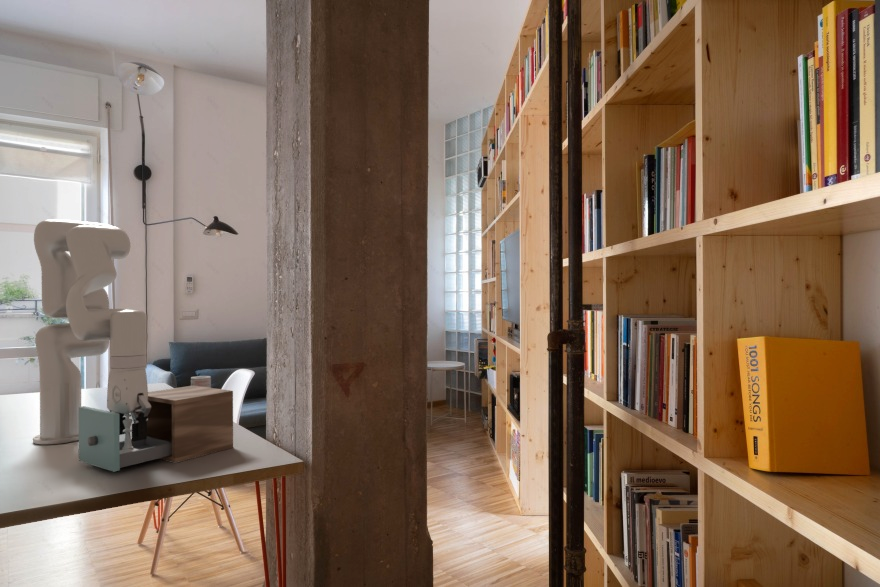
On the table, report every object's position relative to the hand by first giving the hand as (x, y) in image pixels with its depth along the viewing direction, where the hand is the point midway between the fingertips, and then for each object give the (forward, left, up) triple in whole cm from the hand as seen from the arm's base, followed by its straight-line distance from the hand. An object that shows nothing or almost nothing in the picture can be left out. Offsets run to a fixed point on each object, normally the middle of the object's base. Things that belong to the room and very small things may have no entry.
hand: (128, 437), depth 134 cm
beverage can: (-20, +32, -6) cm, 38 cm away
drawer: (0, 0, -5) cm, 5 cm away
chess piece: (0, 0, -4) cm, 4 cm away
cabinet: (0, +14, -6) cm, 15 cm away
